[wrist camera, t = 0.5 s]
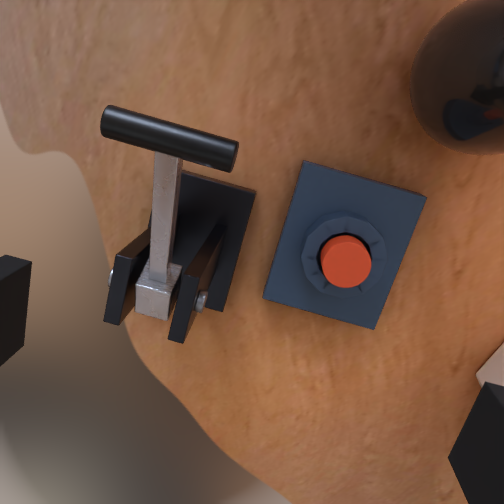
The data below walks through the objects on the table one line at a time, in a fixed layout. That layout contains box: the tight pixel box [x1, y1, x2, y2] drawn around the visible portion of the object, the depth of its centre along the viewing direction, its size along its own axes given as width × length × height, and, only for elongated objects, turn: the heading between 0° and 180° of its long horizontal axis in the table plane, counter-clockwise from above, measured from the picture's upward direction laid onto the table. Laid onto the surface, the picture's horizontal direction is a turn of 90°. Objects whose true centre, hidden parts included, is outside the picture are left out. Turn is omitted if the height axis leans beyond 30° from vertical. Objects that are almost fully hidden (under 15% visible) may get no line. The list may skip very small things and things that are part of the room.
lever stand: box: [103, 170, 256, 344], centre depth 33 cm, size 11×8×14 cm
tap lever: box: [100, 105, 239, 321], centre depth 24 cm, size 13×6×2 cm, turn 166°
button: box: [320, 235, 371, 288], centre depth 34 cm, size 4×4×2 cm
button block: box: [263, 160, 427, 330], centre depth 37 cm, size 12×10×4 cm
